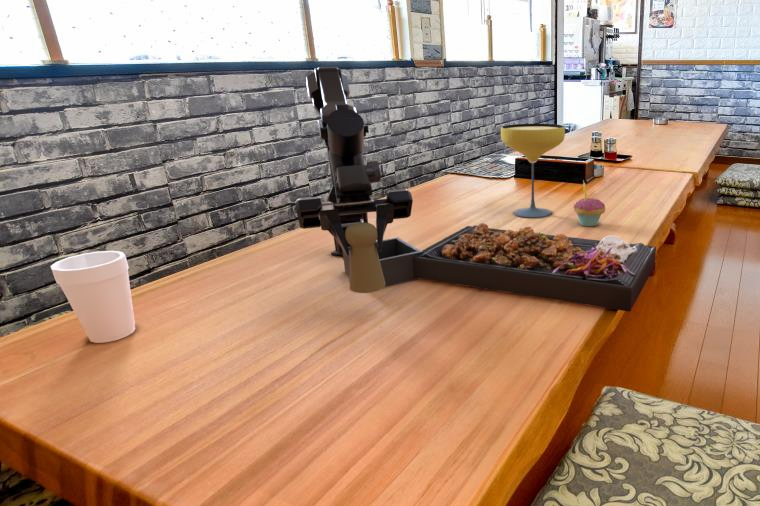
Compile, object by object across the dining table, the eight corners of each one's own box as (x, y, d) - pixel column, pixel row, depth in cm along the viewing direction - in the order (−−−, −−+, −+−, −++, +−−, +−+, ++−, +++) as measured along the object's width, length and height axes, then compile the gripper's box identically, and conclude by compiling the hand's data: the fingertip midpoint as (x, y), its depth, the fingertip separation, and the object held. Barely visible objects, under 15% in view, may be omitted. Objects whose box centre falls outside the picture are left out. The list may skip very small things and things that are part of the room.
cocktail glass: (540, 203, 169) (540, 122, 160) (575, 215, 155) (578, 126, 146) (491, 211, 161) (489, 126, 151) (523, 224, 146) (523, 131, 137)
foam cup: (92, 353, 82) (65, 275, 77) (66, 338, 87) (39, 264, 82) (157, 328, 90) (136, 256, 85) (130, 316, 94) (109, 247, 89)
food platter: (654, 266, 113) (658, 219, 109) (630, 311, 92) (634, 255, 88) (467, 243, 130) (466, 202, 126) (411, 277, 109) (407, 228, 105)
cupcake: (569, 226, 144) (570, 182, 139) (578, 218, 151) (579, 176, 147) (600, 229, 141) (603, 184, 136) (607, 221, 148) (610, 178, 144)
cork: (376, 294, 88) (369, 230, 84) (342, 291, 89) (334, 228, 85) (391, 280, 93) (385, 220, 89) (359, 278, 94) (351, 218, 90)
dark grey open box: (345, 272, 113) (341, 247, 111) (400, 260, 120) (397, 237, 118) (366, 291, 104) (363, 264, 102) (424, 276, 110) (422, 251, 108)
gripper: (286, 148, 83) (298, 235, 77) (405, 141, 89) (424, 221, 83) (294, 188, 92) (305, 268, 87) (401, 179, 98) (418, 253, 93)
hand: (364, 252), depth 87 cm, fingers closed on cork, 5 cm apart
